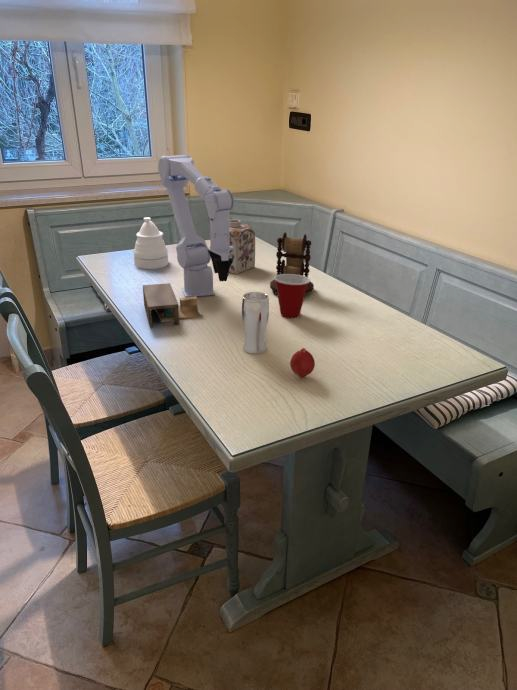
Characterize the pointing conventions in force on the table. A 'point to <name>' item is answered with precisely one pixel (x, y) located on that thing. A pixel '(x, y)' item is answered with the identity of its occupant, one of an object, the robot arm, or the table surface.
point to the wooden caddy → (160, 300)
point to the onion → (302, 363)
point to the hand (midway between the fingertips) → (220, 276)
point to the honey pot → (150, 247)
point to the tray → (181, 310)
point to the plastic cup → (291, 293)
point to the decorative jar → (241, 247)
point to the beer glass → (255, 321)
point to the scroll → (293, 259)
